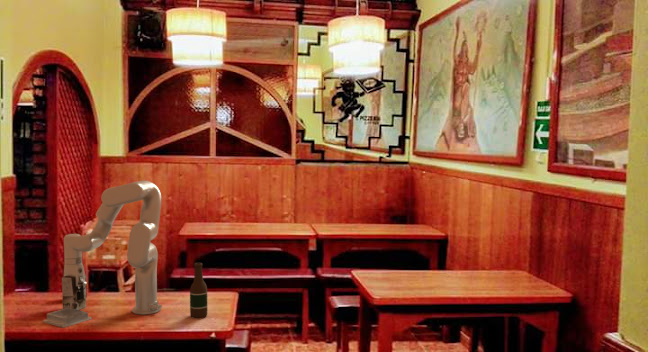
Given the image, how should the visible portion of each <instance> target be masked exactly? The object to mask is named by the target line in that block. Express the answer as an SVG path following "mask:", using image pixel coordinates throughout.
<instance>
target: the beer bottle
mask: <svg viewBox="0 0 648 352" xmlns="http://www.w3.org/2000/svg"><path fill="white" fill-rule="evenodd" d="M193 265H194V276H193V277H194V278H193V282H192V284H191V286H190V289H189V309H190V310H189V311H190V312H189V314H190V318H192V319H204V318H207V316H208V286H207V284H206V282H205V281H204V276H203V275H204V274H203V263H202V262H195V263H194V264H193Z"/></svg>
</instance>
